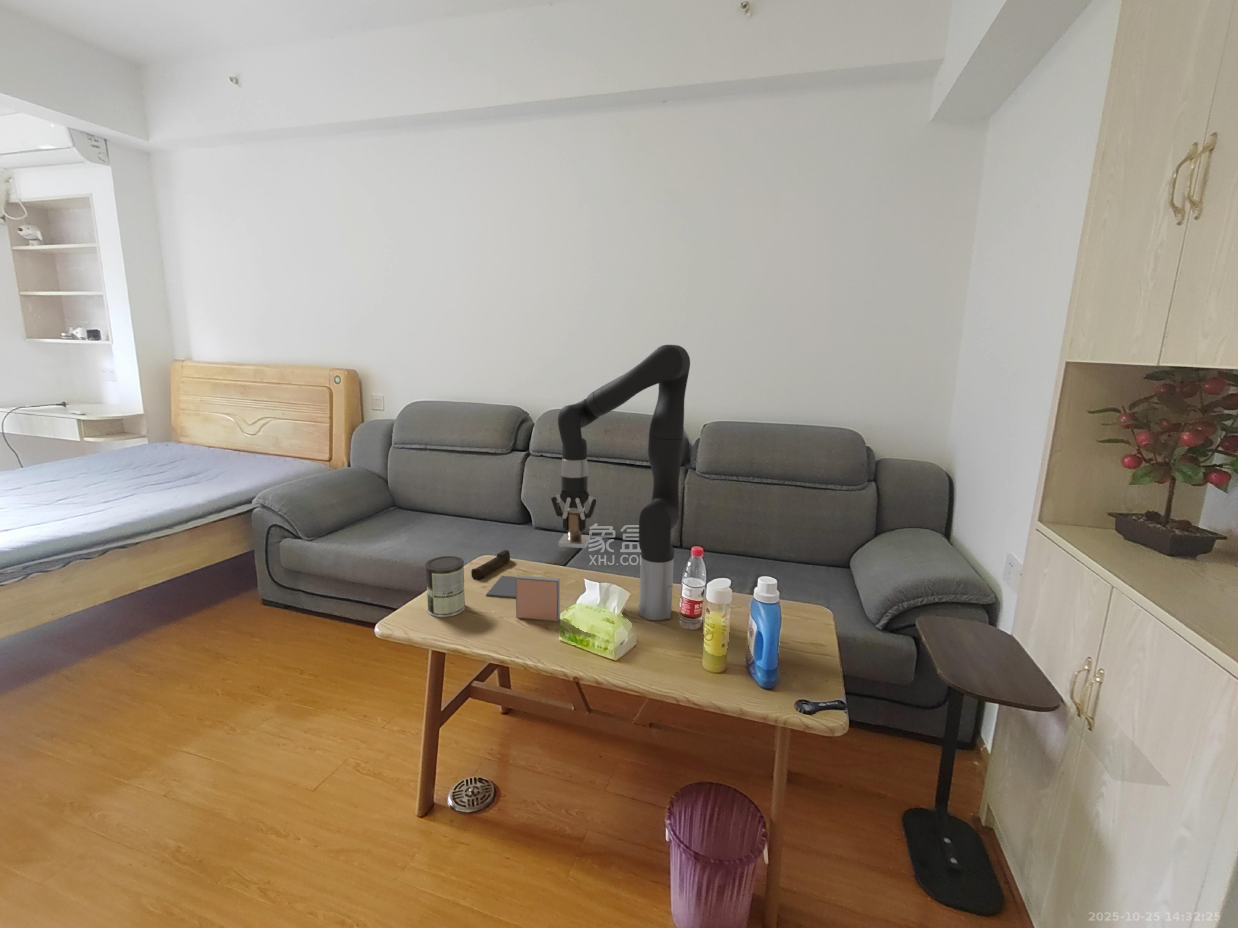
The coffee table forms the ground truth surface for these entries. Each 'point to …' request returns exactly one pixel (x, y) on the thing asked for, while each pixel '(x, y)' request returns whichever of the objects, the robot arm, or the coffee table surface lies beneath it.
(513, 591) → the rest mat
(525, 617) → the tile
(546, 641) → the coffee table surface
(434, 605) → the coffee can
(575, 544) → the brown post on base
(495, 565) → the dark brown bar
